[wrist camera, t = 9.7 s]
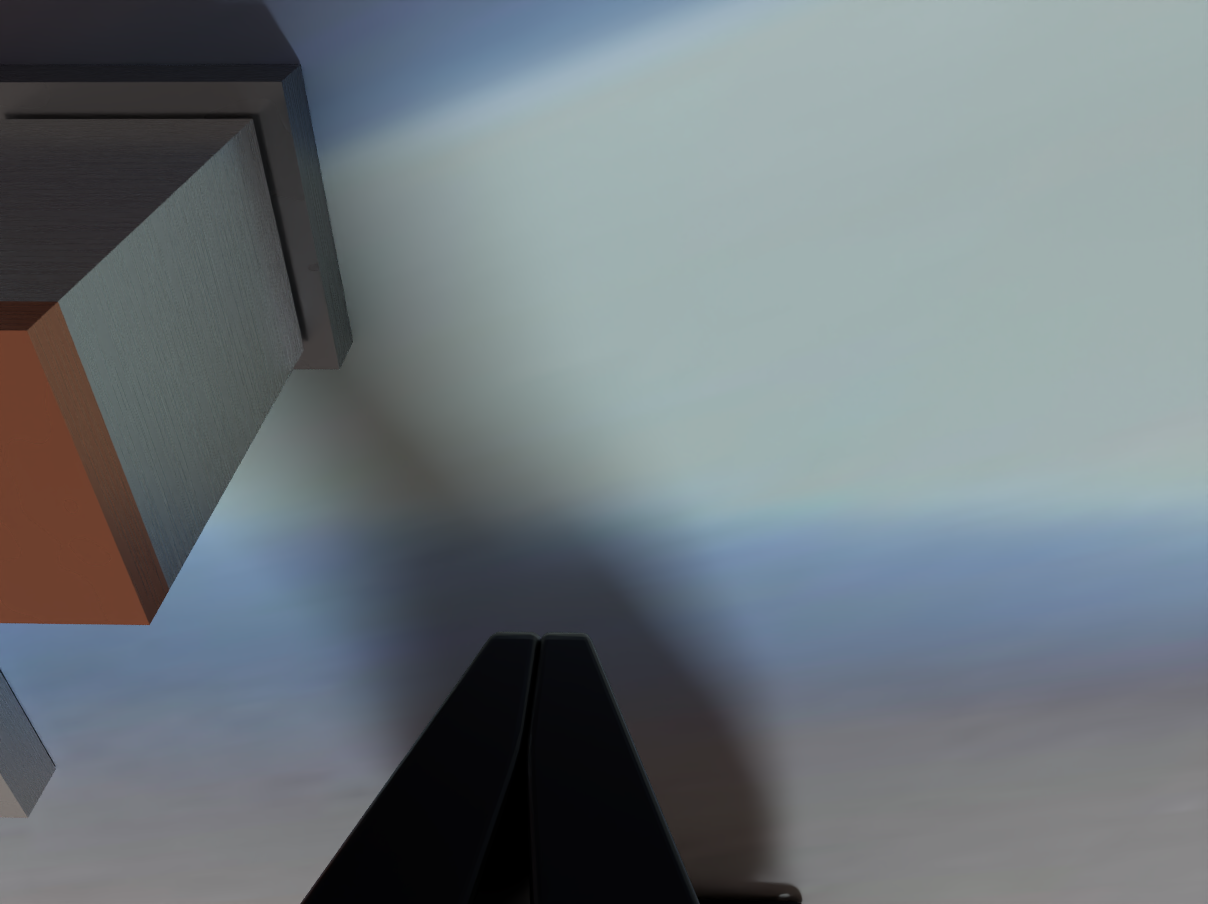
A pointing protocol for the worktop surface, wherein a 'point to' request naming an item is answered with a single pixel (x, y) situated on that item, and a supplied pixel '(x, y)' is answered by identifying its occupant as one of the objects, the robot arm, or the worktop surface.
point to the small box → (128, 352)
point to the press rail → (282, 142)
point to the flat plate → (20, 759)
